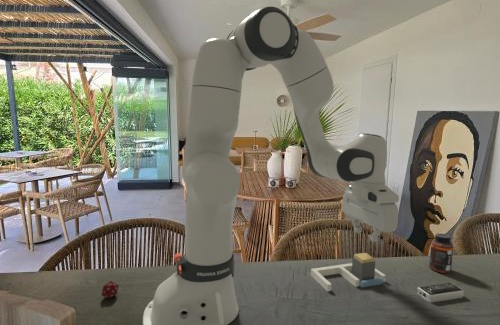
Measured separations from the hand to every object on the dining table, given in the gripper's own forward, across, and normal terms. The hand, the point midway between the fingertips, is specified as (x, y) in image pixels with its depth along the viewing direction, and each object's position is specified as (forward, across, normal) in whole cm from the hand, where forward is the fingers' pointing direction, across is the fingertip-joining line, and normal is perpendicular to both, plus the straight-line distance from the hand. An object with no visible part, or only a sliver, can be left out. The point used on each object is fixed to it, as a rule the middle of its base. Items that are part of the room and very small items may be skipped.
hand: (365, 236), depth 88 cm
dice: (+13, -10, -70) cm, 72 cm away
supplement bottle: (+13, +2, +28) cm, 31 cm away
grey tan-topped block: (+13, 0, 0) cm, 13 cm away
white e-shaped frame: (+13, -1, -4) cm, 14 cm away
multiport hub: (+14, +13, +14) cm, 24 cm away
